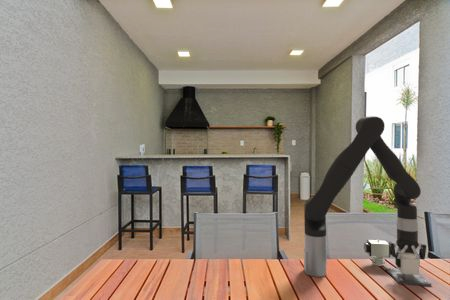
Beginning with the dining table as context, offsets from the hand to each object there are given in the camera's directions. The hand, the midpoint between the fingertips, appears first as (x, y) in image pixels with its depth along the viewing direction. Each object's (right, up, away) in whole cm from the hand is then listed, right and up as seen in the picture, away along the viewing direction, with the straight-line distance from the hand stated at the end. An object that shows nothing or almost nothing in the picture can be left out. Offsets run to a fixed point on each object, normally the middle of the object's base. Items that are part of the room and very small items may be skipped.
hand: (407, 267), depth 119 cm
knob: (0, -2, 0) cm, 2 cm away
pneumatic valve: (-5, -5, +14) cm, 16 cm away
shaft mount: (0, -5, 0) cm, 5 cm away
